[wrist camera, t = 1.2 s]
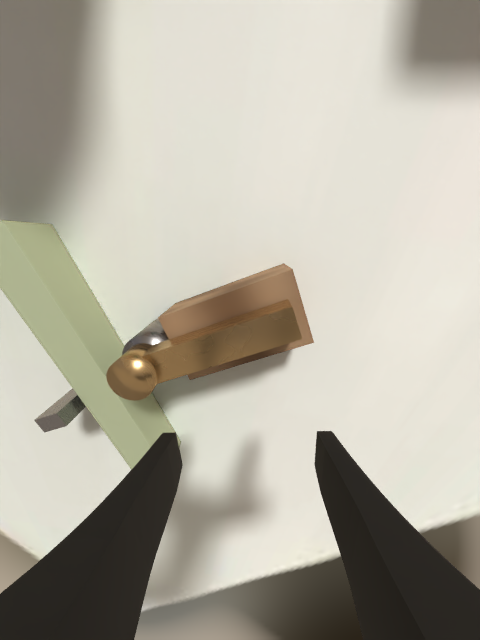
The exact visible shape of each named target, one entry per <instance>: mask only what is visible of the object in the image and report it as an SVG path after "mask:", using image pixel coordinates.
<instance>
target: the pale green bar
mask: <svg viewBox="0 0 480 640" xmlns="http://www.w3.org/2000/svg"><path fill="white" fill-rule="evenodd" d="M0 288H1V290H2V291H3V292H4V294H5V295H6V297H7V298H8V299H9V301H10V302H11V303H12V305H13V306H14V308H15V309H16V310H17V312H18V313H19V315H20V316H21V317H22V319H23V320H24V321H25V323H26V324H27V326H28V327H29V328H30V330H31V331H32V332H33V334H34V335H35V337H36V338H37V339H38V341H39V342H40V344H41V345H42V346H43V348H44V349H45V350H46V352H47V353H48V355H49V356H50V357H51V359H52V360H53V362H54V363H55V364H56V366H57V367H58V368H59V370H60V371H61V373H62V374H63V375H64V377H65V378H66V380H67V381H68V382H69V384H70V385H71V386H72V388H73V389H74V391H75V392H76V393H77V395H78V396H79V397H80V399H81V400H82V402H83V403H84V404H85V406H86V407H87V409H88V410H89V411H90V413H91V414H92V415H93V417H94V418H95V420H96V421H97V422H98V424H99V425H100V427H101V428H102V429H103V431H104V432H105V433H106V435H107V436H108V438H109V439H110V440H111V442H112V443H113V445H114V446H115V447H116V449H117V450H118V451H119V453H120V454H121V456H122V457H123V458H124V460H125V461H126V462H127V464H128V465H129V467H130V468H131V469H133V468H134V466H135V465H136V464H137V463H138V462H139V461H140V459H141V458H142V457H143V456H144V455H145V453H146V452H147V451H148V450H149V449H150V447H151V446H152V445H153V444H154V443H155V441H156V440H157V439H158V438H159V437H160V435H161V434H162V433H174V432H175V431H174V429H173V428H172V426H171V424H170V423H169V421H168V419H167V417H166V416H165V414H164V412H163V411H162V409H161V407H160V406H159V404H158V402H157V401H156V399H155V397H154V396H153V394H152V392H151V394H150V395H149V396H148V397H146V398H144V399H142V400H136V401H133V400H127V399H124V398H122V397H120V396H118V395H117V394H116V393H114V392H113V391H112V389H111V388H110V387H109V385H108V382H107V378H106V374H107V370H108V368H109V367H110V366H111V365H112V364H113V363H114V362H115V361H116V360H117V359H119V358H120V357H121V356H122V352H123V348H124V345H123V343H122V342H121V340H120V338H119V337H118V335H117V333H116V332H115V330H114V328H113V326H112V325H111V323H110V321H109V320H108V318H107V316H106V315H105V313H104V311H103V310H102V308H101V306H100V305H99V303H98V301H97V300H96V298H95V296H94V294H93V293H92V291H91V289H90V288H89V286H88V284H87V283H86V281H85V279H84V278H83V276H82V274H81V273H80V271H79V269H78V267H77V266H76V264H75V262H74V261H73V259H72V257H71V256H70V254H69V252H68V251H67V249H66V247H65V246H64V244H63V242H62V241H61V239H60V237H59V235H58V234H57V232H56V230H55V229H54V227H53V225H52V224H42V223H30V222H18V221H6V220H2V221H0ZM176 435H177V434H176ZM177 440H178V445H179V446H180V443H181V441H180V439H179V438H178V436H177Z"/></svg>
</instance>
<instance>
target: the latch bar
mask: <svg viewBox="0 0 480 640" xmlns="http://www.w3.org/2000/svg"><path fill="white" fill-rule="evenodd" d="M301 339H302V336H301V333H300V329H299V326H298V323H297V320H296V316H295V313H294V310H293V307H292V305H291V303H290V302H289V300H288V299H286V300H283V301H280V302H277V303H274V304H271V305H268V306H265V307H263V308H260V309H257V310H254V311H251V312H248V313H245V314H242V315H239V316H236V317H233V318H230V319H227V320H224V321H221V322H218V323H216V324H213V325H210V326H207V327H204V328H201V329H198V330H195V331H192V332H189V333H186V334H183V335H180V336H177V337H174V338H171V339H169V340H166V341H163V342H160V343H157V344H154V345H151V344H147V343H140V344H136V345H134V346H132V347H131V348H130V349H129V350H128V351H127V352H125V353H124V354H123V355H122V356H121V357H120V358H119V359H117V360H116V361H115V362H114V363H113V364H112V365H111V366H110V367H109V368H108V370H107V374H106V378H107V382H108V385H109V387H110V388H111V389H112V391H113V392H114V393H116V394H117V395H118V396H120V397H122V398H124V399H127V400H133V401H136V400H142V399H144V398H146V397H148V396H149V395H150V394H151V392H152V391H153V389H154V388H155V386H156V385H157V384H158V383H161V382H165V381H168V380H171V379H174V378H178V377H181V376H184V375H187V374H191V373H194V372H197V371H200V370H204V369H207V368H210V367H213V366H217V365H220V364H223V363H226V362H230V361H233V360H236V359H239V358H243V357H246V356H249V355H252V354H256V353H259V352H262V351H266V350H269V349H272V348H275V347H279V346H282V345H285V344H288V343H292V342H295V341H298V340H301Z"/></svg>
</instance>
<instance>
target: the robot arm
mask: <svg viewBox="0 0 480 640" xmlns="http://www.w3.org/2000/svg"><path fill="white" fill-rule="evenodd" d="M181 469H182V460H181V455H180V450H179V445H178V440H177V435H176V432H174V433H162V434H161V435H160V437H159V438H158V439H157V440H156V441H155V443H154V444H153V445H152V446H151V447H150V449H149V450H148V451H147V452H146V453H145V455H144V456H143V457H142V458H141V459H140V461H139V462H138V463H137V464H136V465H135V466H134V468H133V469H132V470H131V471H130V472H129V473H128V474H127V476H126V477H125V478H124V479H123V480H122V481H121V482H120V483H119V485H118V486H117V487H116V488H115V489H114V490H113V491H112V492H111V493H110V494H109V495H108V496H107V497H106V498H105V500H104V501H103V502H102V503H101V504H100V505H99V506H98V507H97V508H96V509H95V510H94V511H93V512H92V513H91V514H90V515H89V516H88V517H87V518H86V519H85V520H84V521H83V522H82V523H81V524H80V525H79V526H78V527H77V528H75V529H74V530H73V531H72V532H71V533H70V534H69V535H68V536H67V537H66V538H65V539H64V540H63V541H61V542H60V543H59V544H58V545H57V546H56V547H55V548H54V549H53V550H51V551H50V552H49V553H48V554H47V555H46V556H45V557H44V558H42V559H41V560H40V561H39V562H38V563H37V564H36V565H34V566H33V567H32V568H31V569H30V570H29V571H27V572H26V573H25V574H24V575H22V576H21V577H20V578H19V579H18V580H16V581H15V582H14V583H13V584H12V585H10V586H9V587H8V588H7V589H5V590H4V591H3V592H2V593H1V594H0V640H134V637H135V633H136V629H137V625H138V621H139V617H140V612H141V608H142V604H143V600H144V596H145V592H146V589H147V585H148V581H149V577H150V573H151V569H152V566H153V563H154V559H155V556H156V553H157V550H158V547H159V544H160V541H161V538H162V535H163V532H164V529H165V526H166V523H167V519H168V516H169V513H170V510H171V507H172V504H173V501H174V498H175V495H176V492H177V487H178V483H179V479H180V474H181ZM315 469H316V473H317V478H318V483H319V487H320V491H321V495H322V498H323V501H324V504H325V507H326V510H327V513H328V517H329V520H330V523H331V526H332V529H333V532H334V535H335V538H336V541H337V544H338V547H339V551H340V554H341V557H342V560H343V563H344V566H345V570H346V573H347V577H348V580H349V584H350V588H351V592H352V596H353V599H354V604H355V608H356V611H357V615H358V620H359V623H360V628H361V632H362V636H363V640H480V590H479V589H478V588H477V587H476V586H475V585H474V584H473V583H472V582H471V581H469V580H468V579H467V578H466V577H465V576H464V575H463V574H462V573H461V572H459V571H458V570H457V569H456V568H455V567H454V566H453V565H452V564H451V563H450V562H449V561H448V560H446V559H445V558H444V557H443V556H442V555H441V554H440V553H439V552H438V551H437V550H436V549H435V548H434V547H433V546H432V545H431V544H430V543H429V542H428V541H427V540H426V539H425V538H424V537H423V536H422V535H421V534H420V533H419V532H418V531H417V530H416V529H415V528H414V527H413V526H412V525H411V524H410V523H409V522H408V521H407V520H406V519H405V518H404V517H403V516H402V515H401V514H400V513H399V512H398V510H397V509H396V508H395V507H394V506H393V505H392V504H391V503H390V502H389V501H388V500H387V498H386V497H385V496H384V495H383V494H382V493H381V492H380V491H379V489H378V488H377V487H376V486H375V485H374V484H373V483H372V481H371V480H370V479H369V478H368V477H367V475H366V474H365V473H364V472H363V471H362V469H361V468H360V467H359V466H358V465H357V463H356V462H355V461H354V460H353V458H352V457H351V456H350V455H349V453H348V452H347V451H346V449H345V448H344V447H343V445H342V444H341V443H340V441H339V440H338V439H337V437H336V436H335V435H334V433H333V432H332V431H317V439H316V453H315Z"/></svg>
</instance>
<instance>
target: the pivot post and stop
mask: <svg viewBox="0 0 480 640" xmlns="http://www.w3.org/2000/svg"><path fill="white" fill-rule="evenodd" d="M166 340H169V339H168V337H167V335H166V333H165V331H164V329H163V327H162V325H161V323H160V321H159V319H156V320H155V321H153V322H152V323H151V324H149V325H148V326H147V327H146V328H144V329H143V330H142V331H141V332H140V333H138V334H137V335H136V336H135V337H133V338H132V339H131V340H130V341H129V342H127V344H126V345H125V346H124V348H123V352H122V355H123V354H124V353H125V352H127V351H128V350H129V349H130V348H131V347H132V346H134V345H136V344H140V343H147V344H151V345H154V344H157V343H160V342H163V341H166ZM85 407H86V406H85V404H84V403H83V402H82V400H81V399H80V397H79V396H78V395H77V393H76V392H75V391H74V389H71V390H70V391H69V392H68V393H67V394H65V395H64V396H63V397H62V398H61V399H59V400H58V401H57V402H56V403H54V404H53V405H52V406H51V407H50V408H48V409H47V410H46V411H45V412H44V413H42V414H41V415H40V416H39V417H38V418H36V419H35V422H36V423H37V424H38V425H39V426H40V428H41V429H42V430H43V431H44V432H47V431H51V430H54V429H58V428H61V427H64V426H67V425H68V424H69V423H70V422H71V421H72V420H73V419H74V418H75V417H76V416H77V415H78V414H79V413H80V412H81V411H82V410H83V409H84V408H85Z"/></svg>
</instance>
